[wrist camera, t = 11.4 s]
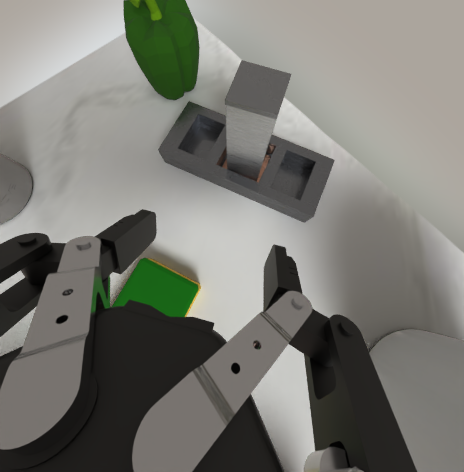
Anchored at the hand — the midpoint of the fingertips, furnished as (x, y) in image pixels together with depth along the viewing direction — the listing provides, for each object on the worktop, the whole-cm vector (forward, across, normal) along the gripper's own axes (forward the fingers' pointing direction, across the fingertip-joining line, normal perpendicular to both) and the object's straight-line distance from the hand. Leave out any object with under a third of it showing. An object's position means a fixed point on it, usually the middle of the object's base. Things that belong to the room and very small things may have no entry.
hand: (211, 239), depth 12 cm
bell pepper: (+23, +13, -9) cm, 28 cm away
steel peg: (+15, 0, -2) cm, 15 cm away
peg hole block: (+16, 0, -2) cm, 16 cm away
